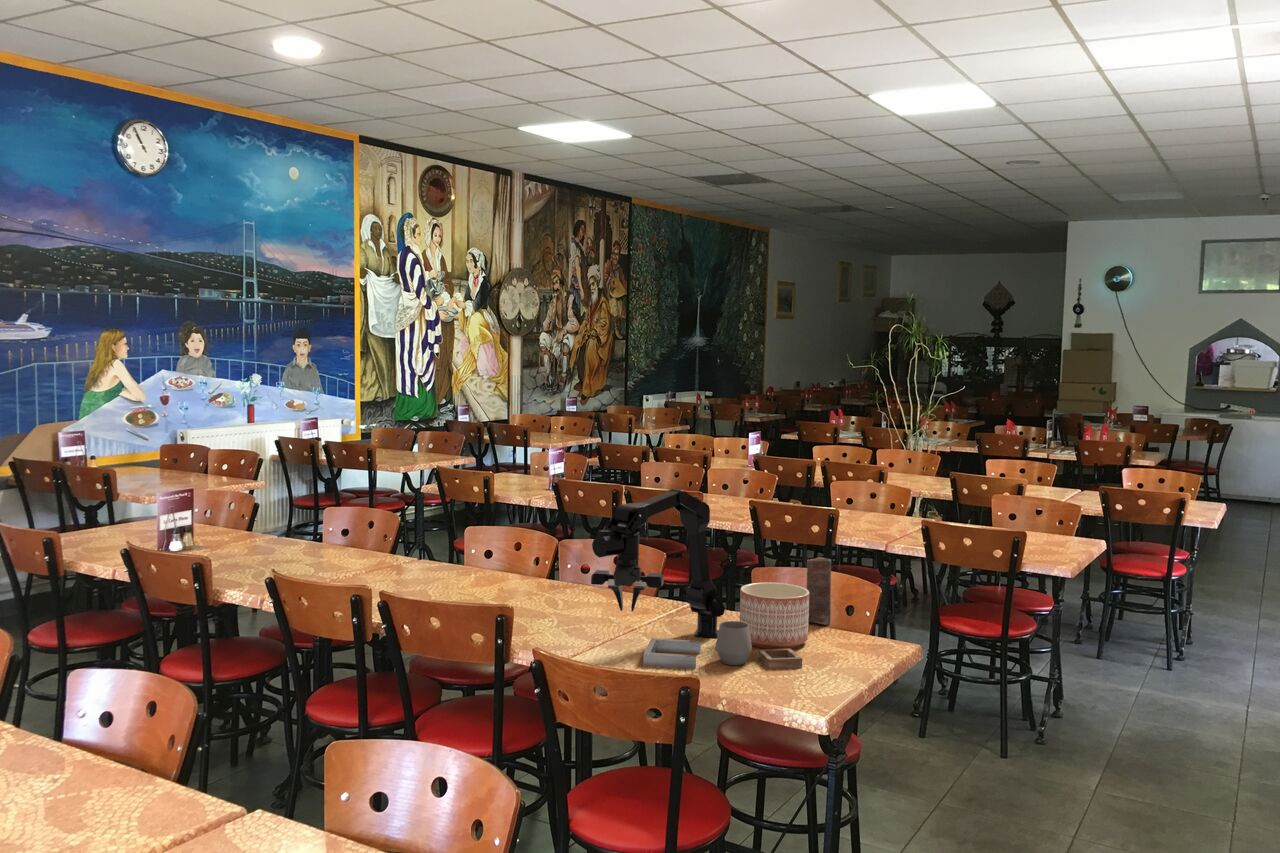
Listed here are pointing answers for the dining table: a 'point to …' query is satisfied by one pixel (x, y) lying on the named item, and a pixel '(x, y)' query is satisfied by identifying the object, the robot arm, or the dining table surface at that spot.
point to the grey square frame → (671, 659)
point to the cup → (733, 642)
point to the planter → (775, 614)
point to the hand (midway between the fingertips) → (627, 610)
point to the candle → (819, 590)
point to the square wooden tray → (779, 658)
